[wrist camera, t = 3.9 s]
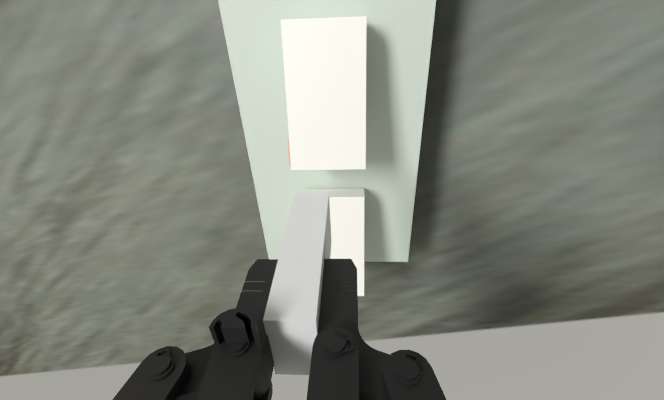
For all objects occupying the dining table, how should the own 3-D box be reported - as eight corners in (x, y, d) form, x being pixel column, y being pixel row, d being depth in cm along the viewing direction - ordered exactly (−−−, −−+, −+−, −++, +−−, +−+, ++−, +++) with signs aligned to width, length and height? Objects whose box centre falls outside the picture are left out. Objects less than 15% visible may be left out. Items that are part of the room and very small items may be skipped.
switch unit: (189, -248, 17) (140, -309, 13) (448, -274, 16) (477, -346, 12) (273, 231, 34) (263, 266, 30) (402, 231, 33) (408, 267, 29)
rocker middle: (284, 23, 20) (277, 19, 18) (365, 20, 19) (366, 16, 18) (293, 162, 22) (288, 170, 21) (365, 161, 22) (365, 169, 20)
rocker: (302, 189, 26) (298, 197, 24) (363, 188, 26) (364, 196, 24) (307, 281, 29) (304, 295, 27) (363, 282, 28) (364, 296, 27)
